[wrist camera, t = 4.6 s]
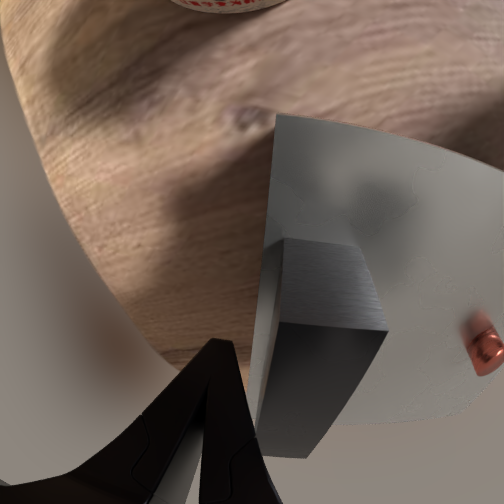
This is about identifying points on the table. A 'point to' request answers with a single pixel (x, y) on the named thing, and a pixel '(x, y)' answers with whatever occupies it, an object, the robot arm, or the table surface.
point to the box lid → (373, 283)
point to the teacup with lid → (226, 5)
